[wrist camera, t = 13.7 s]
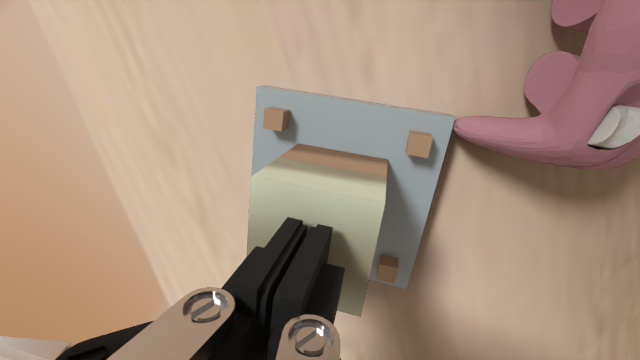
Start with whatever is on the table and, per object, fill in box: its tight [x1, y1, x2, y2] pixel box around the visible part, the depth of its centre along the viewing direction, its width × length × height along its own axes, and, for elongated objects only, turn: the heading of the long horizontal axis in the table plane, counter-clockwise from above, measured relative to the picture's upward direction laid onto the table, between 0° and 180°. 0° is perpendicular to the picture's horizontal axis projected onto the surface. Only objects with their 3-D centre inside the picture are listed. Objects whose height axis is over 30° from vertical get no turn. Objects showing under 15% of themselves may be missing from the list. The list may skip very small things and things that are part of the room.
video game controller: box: [452, 0, 640, 169], centre depth 11 cm, size 10×5×7 cm, turn 172°
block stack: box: [247, 143, 388, 317], centre depth 14 cm, size 5×5×6 cm
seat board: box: [252, 86, 455, 289], centre depth 17 cm, size 10×10×2 cm
